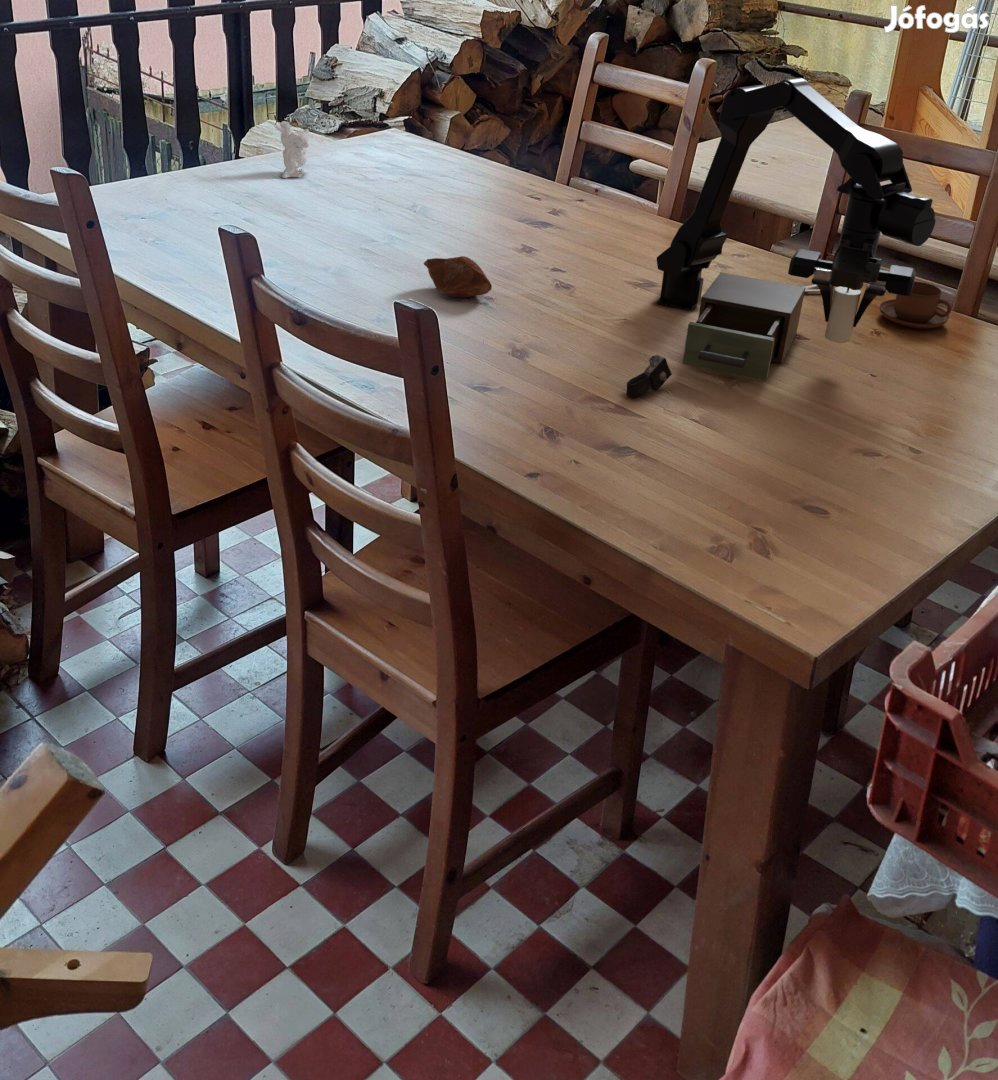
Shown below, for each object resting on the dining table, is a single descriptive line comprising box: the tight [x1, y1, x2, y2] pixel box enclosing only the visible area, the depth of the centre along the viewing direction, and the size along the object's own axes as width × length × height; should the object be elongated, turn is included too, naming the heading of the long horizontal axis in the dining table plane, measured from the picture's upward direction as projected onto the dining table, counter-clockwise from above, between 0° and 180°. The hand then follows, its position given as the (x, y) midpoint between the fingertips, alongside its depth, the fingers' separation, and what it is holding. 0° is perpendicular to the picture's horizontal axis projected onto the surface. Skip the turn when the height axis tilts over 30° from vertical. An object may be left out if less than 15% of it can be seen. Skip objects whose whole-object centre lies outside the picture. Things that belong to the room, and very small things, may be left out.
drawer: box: [682, 303, 783, 382], centre depth 187 cm, size 17×13×7 cm
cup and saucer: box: [879, 280, 952, 330], centre depth 210 cm, size 12×12×6 cm
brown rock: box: [423, 255, 493, 299], centre depth 208 cm, size 13×8×10 cm
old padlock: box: [626, 354, 673, 399], centre depth 179 cm, size 8×2×5 cm
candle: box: [824, 286, 862, 344], centre depth 187 cm, size 4×4×9 cm
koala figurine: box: [274, 120, 310, 179], centre depth 267 cm, size 8×7×12 cm
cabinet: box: [698, 271, 806, 364], centre depth 197 cm, size 14×15×9 cm
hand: (840, 323), depth 188 cm, fingers closed on candle, 4 cm apart
